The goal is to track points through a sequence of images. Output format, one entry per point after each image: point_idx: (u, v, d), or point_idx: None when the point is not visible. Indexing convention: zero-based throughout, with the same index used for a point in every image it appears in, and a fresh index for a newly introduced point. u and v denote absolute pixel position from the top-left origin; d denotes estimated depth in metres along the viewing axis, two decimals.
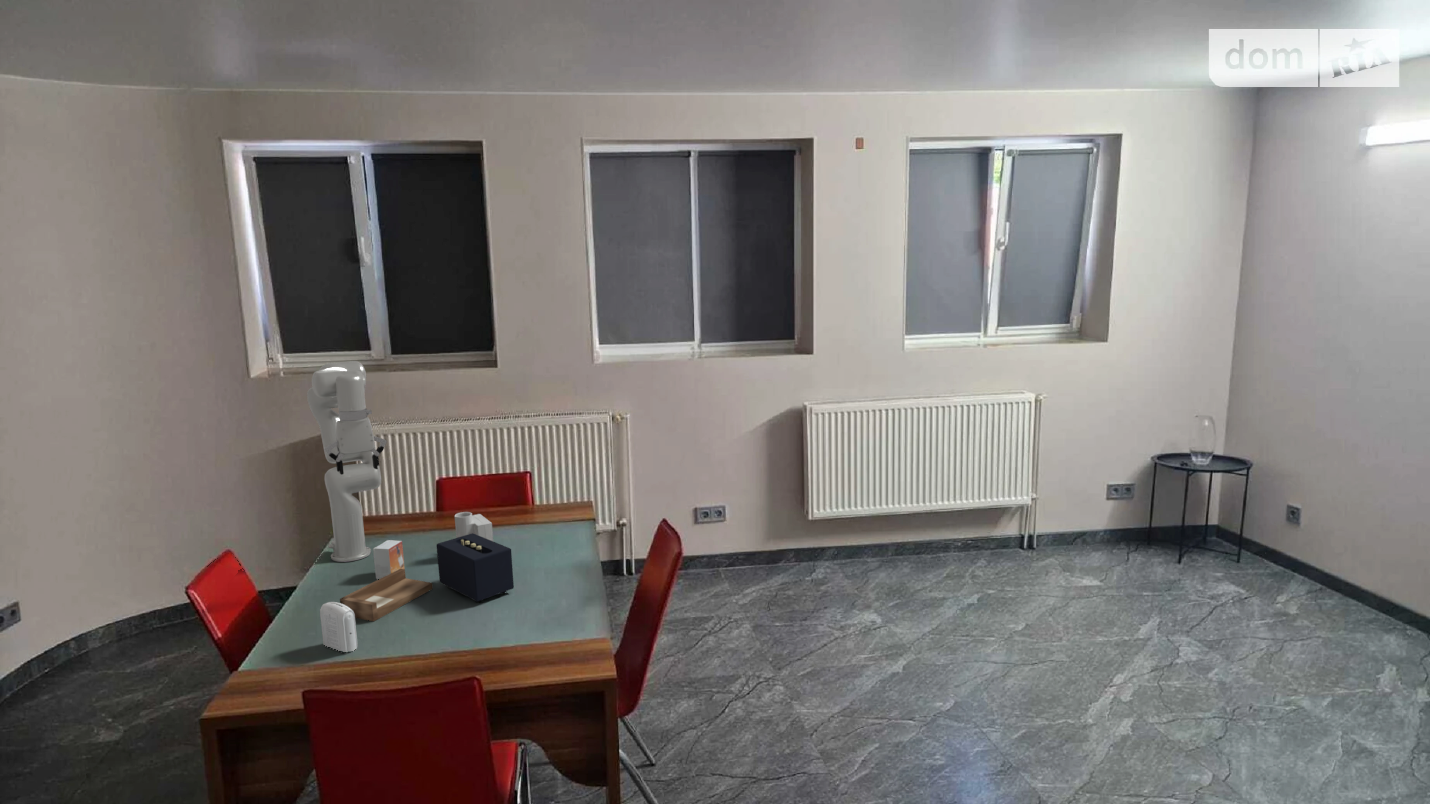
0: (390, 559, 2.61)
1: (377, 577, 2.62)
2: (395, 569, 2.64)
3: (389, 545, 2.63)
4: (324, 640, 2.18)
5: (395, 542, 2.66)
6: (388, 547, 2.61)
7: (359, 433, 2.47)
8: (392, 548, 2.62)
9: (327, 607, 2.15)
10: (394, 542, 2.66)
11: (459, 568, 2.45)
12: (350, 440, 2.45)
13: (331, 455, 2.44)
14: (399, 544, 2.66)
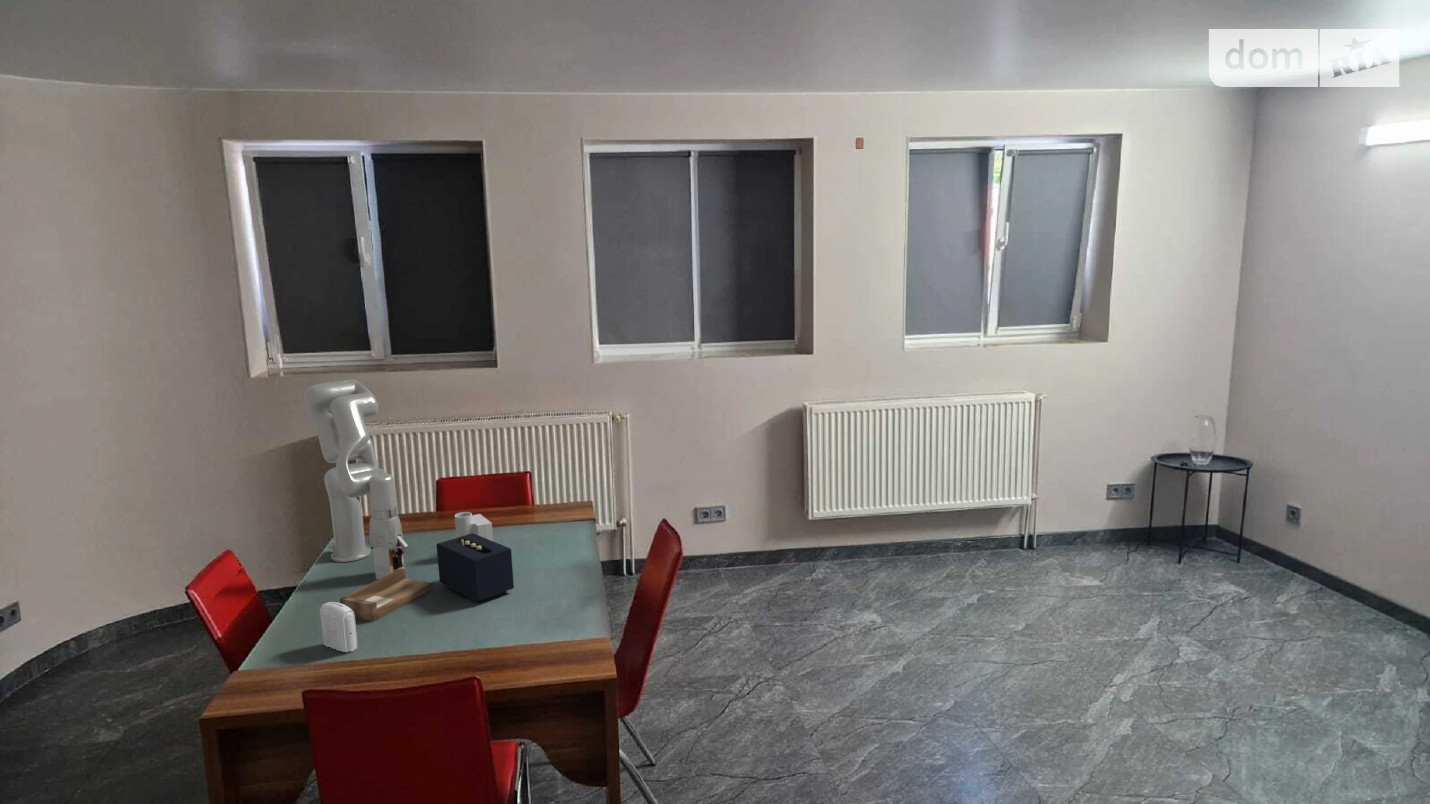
0: (390, 559, 2.61)
1: (377, 577, 2.62)
2: (395, 569, 2.64)
3: None
4: (324, 640, 2.18)
5: None
6: None
7: None
8: None
9: (327, 607, 2.15)
10: None
11: (459, 568, 2.45)
12: None
13: None
14: None
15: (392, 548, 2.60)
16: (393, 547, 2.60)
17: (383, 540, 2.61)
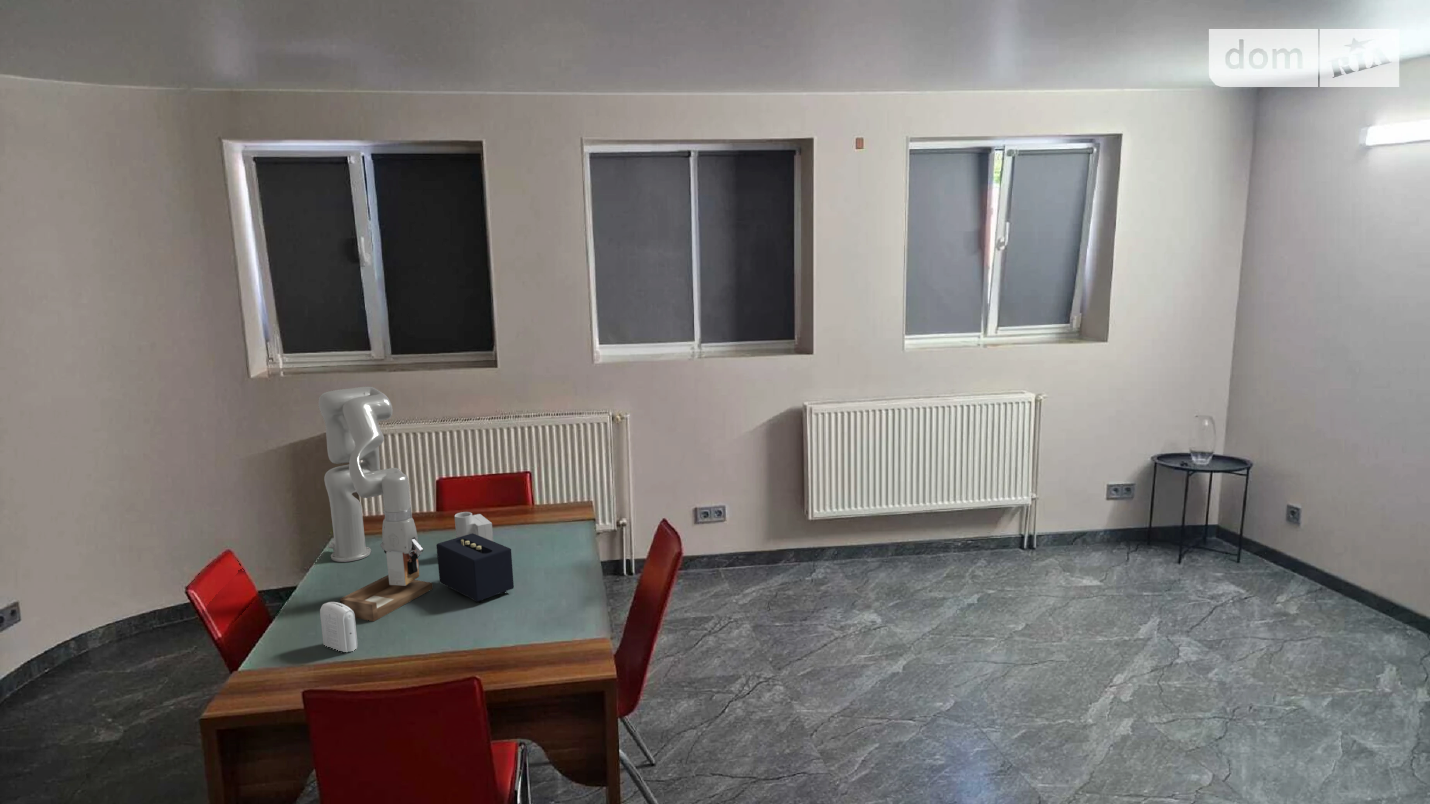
0: (404, 564, 2.46)
1: (390, 582, 2.48)
2: (409, 574, 2.49)
3: None
4: (324, 640, 2.18)
5: None
6: None
7: None
8: None
9: (327, 607, 2.15)
10: None
11: (459, 568, 2.45)
12: None
13: None
14: None
15: (406, 552, 2.46)
16: (407, 551, 2.46)
17: (397, 543, 2.46)
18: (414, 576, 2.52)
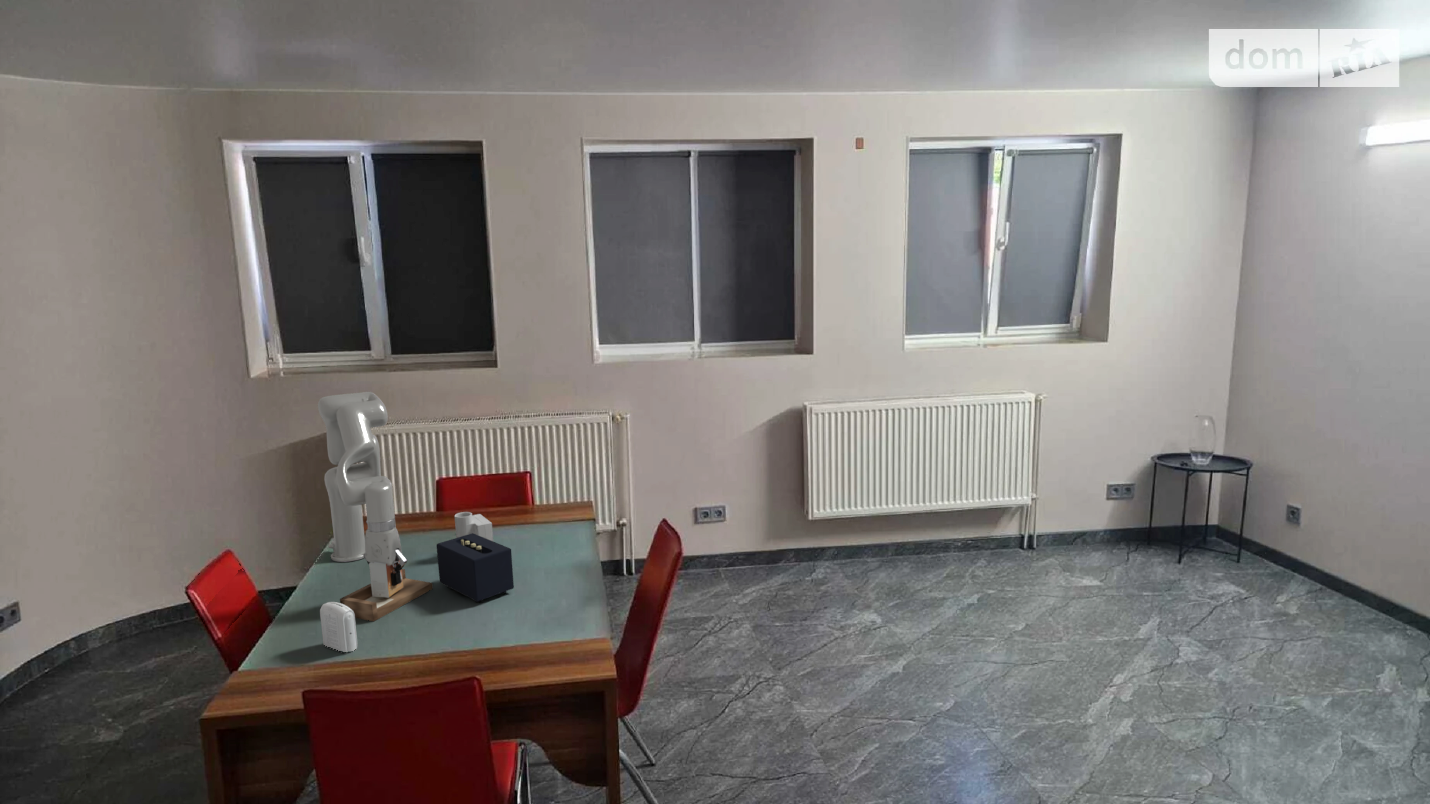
0: (387, 575, 2.40)
1: (373, 594, 2.42)
2: None
3: None
4: (324, 640, 2.18)
5: None
6: None
7: None
8: None
9: (327, 607, 2.15)
10: None
11: (459, 568, 2.45)
12: None
13: None
14: None
15: (390, 563, 2.40)
16: (391, 562, 2.40)
17: (380, 554, 2.40)
18: (397, 587, 2.46)
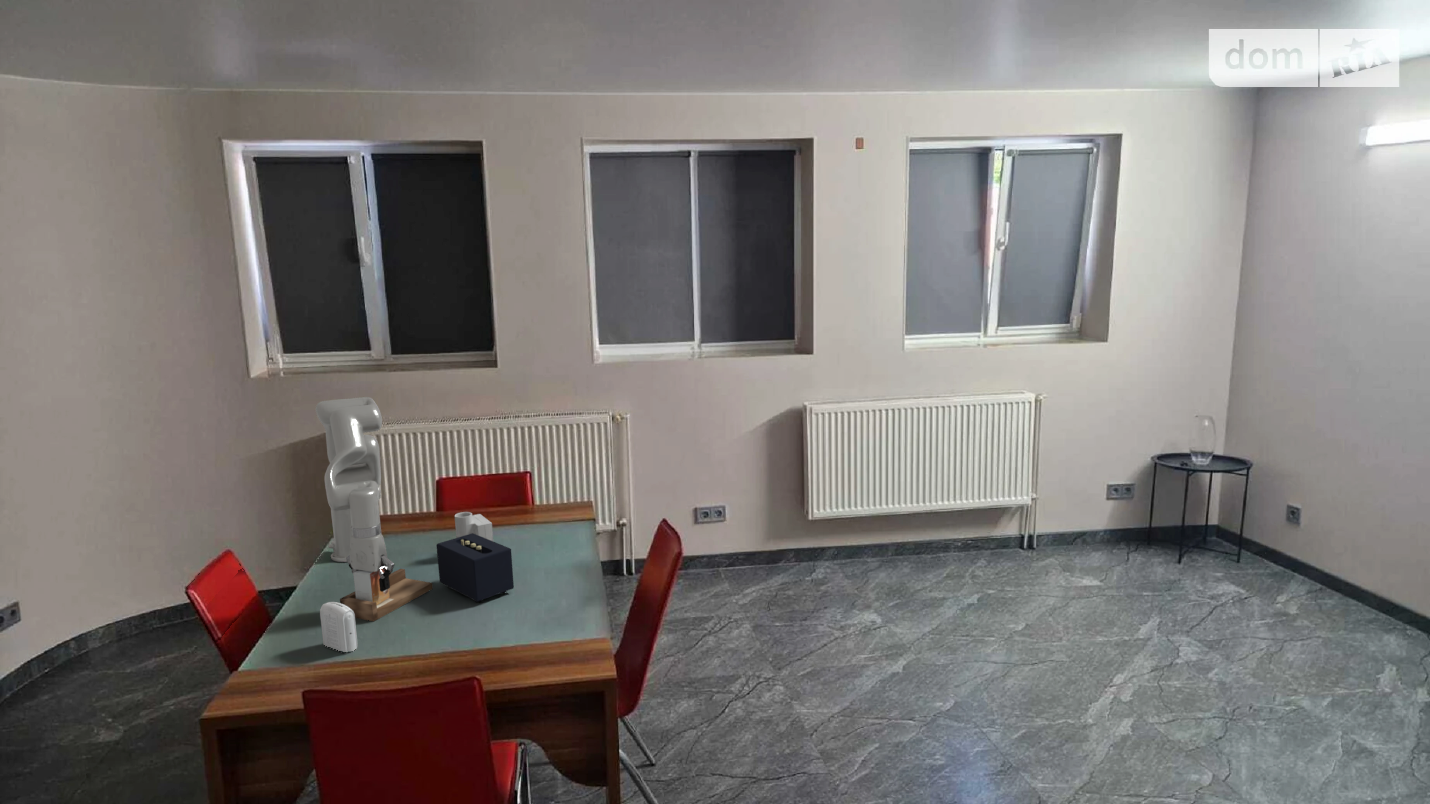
0: (371, 585, 2.36)
1: None
2: (378, 596, 2.38)
3: None
4: (324, 640, 2.18)
5: None
6: None
7: None
8: (374, 572, 2.37)
9: (327, 607, 2.15)
10: None
11: (459, 568, 2.45)
12: None
13: None
14: None
15: (375, 570, 2.34)
16: (376, 569, 2.34)
17: (365, 561, 2.35)
18: (383, 598, 2.41)
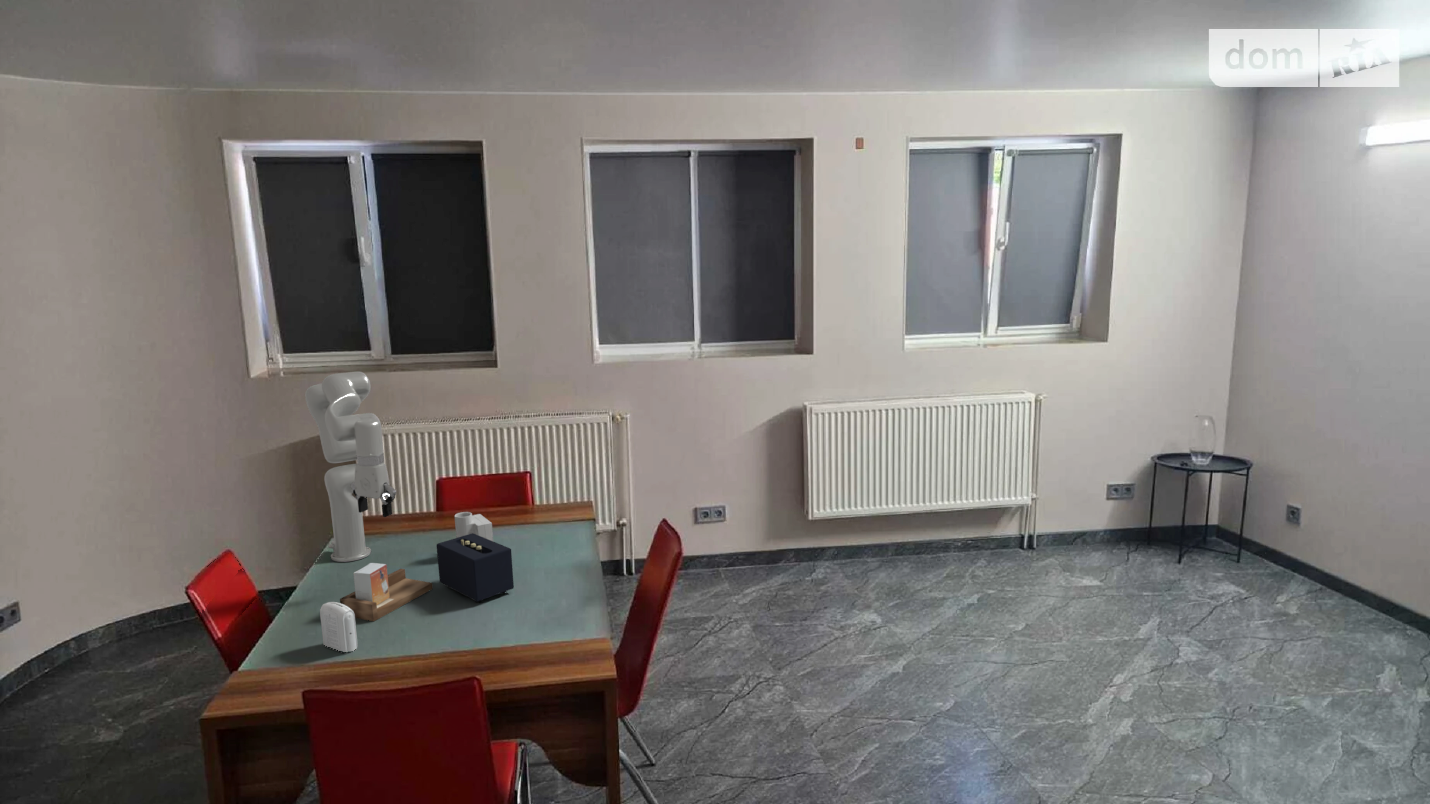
0: (371, 585, 2.36)
1: None
2: (378, 596, 2.38)
3: (371, 569, 2.38)
4: (324, 640, 2.18)
5: (378, 565, 2.40)
6: (370, 571, 2.36)
7: None
8: (374, 572, 2.37)
9: (327, 607, 2.15)
10: (377, 565, 2.40)
11: (459, 568, 2.45)
12: None
13: None
14: (383, 568, 2.41)
15: (378, 496, 2.48)
16: (379, 495, 2.47)
17: (369, 488, 2.48)
18: (383, 598, 2.41)
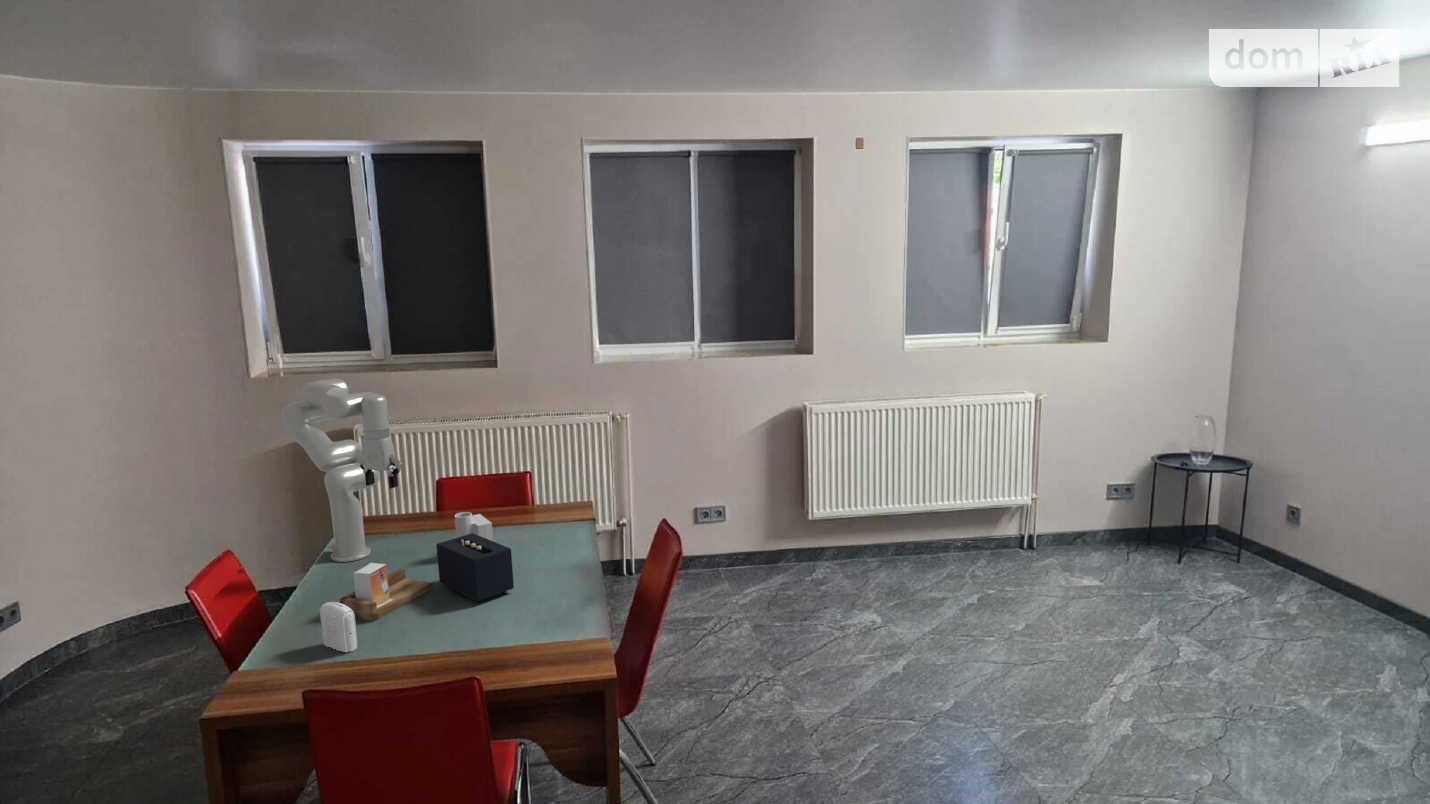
0: (371, 585, 2.36)
1: None
2: (378, 596, 2.38)
3: (371, 569, 2.38)
4: (324, 640, 2.18)
5: (378, 565, 2.40)
6: (370, 571, 2.36)
7: None
8: (374, 572, 2.37)
9: (327, 607, 2.15)
10: (377, 565, 2.40)
11: (459, 568, 2.45)
12: None
13: None
14: (383, 568, 2.41)
15: (384, 468, 2.61)
16: (385, 467, 2.61)
17: (375, 461, 2.61)
18: (383, 598, 2.41)
